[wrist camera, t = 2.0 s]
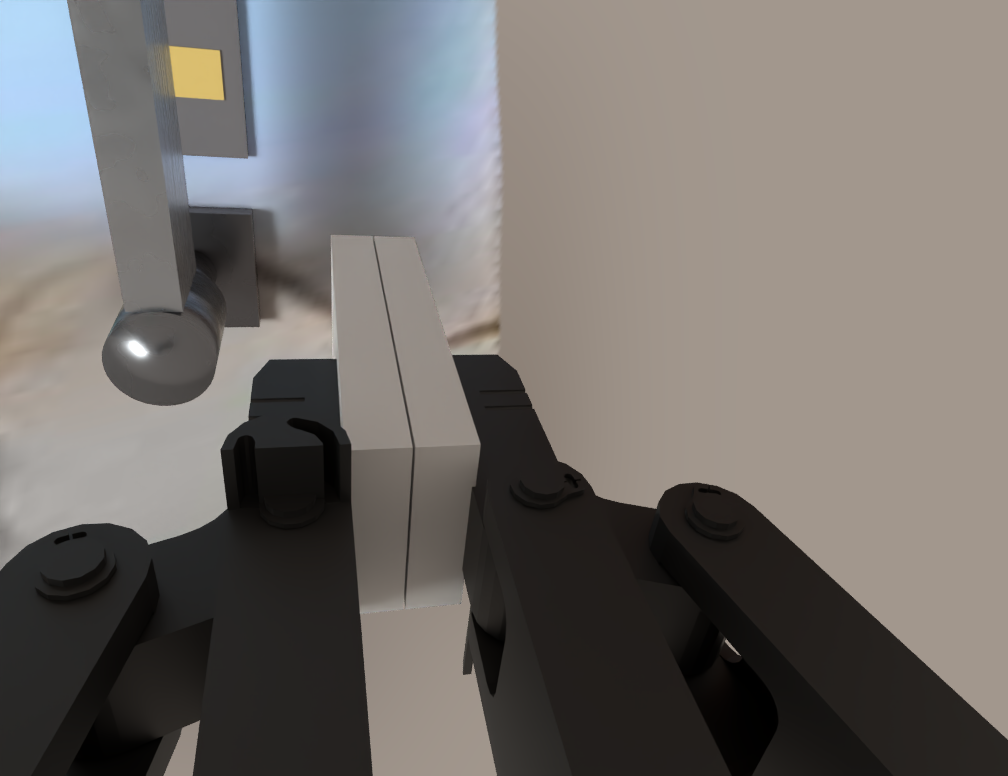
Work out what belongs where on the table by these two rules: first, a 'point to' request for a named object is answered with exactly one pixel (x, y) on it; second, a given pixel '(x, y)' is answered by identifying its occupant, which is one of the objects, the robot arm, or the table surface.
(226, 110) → the label plate ochre
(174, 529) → the table surface
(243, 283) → the dark grey square block
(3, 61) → the table surface
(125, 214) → the rail
